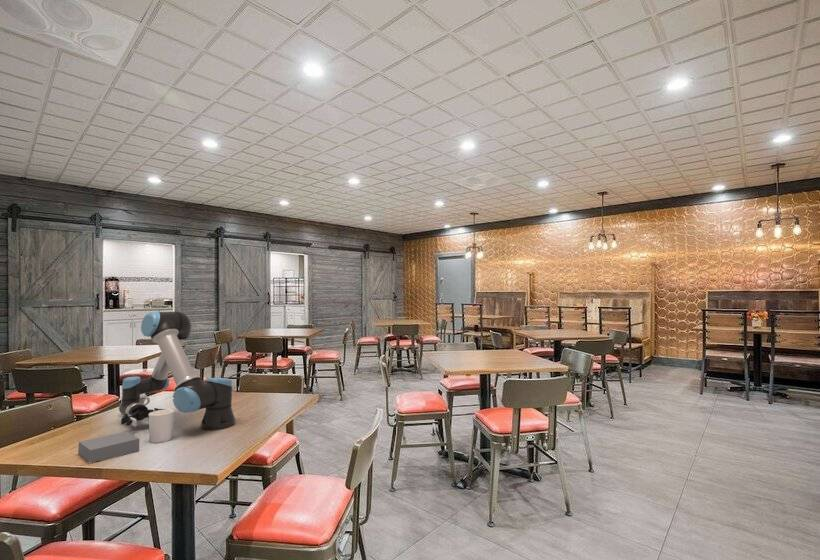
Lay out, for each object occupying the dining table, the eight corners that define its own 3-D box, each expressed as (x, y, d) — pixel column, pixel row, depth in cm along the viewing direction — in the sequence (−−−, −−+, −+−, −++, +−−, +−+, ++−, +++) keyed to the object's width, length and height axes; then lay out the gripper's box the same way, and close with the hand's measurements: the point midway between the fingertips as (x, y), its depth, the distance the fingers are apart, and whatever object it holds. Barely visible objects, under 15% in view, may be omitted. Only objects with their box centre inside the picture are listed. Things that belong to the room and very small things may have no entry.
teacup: (141, 418, 209) (141, 399, 209) (113, 418, 209) (114, 399, 210) (156, 412, 221) (156, 393, 221) (130, 412, 221) (130, 394, 222)
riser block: (125, 443, 170) (125, 431, 170) (139, 451, 160) (139, 438, 161) (78, 454, 157) (78, 441, 158) (89, 463, 148) (90, 450, 148)
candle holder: (146, 445, 167) (146, 416, 168) (149, 438, 176) (150, 411, 177) (172, 441, 172) (173, 413, 173) (174, 434, 180) (175, 408, 181)
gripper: (164, 413, 203) (181, 421, 190) (105, 425, 184) (120, 435, 170) (165, 399, 204) (182, 405, 190) (106, 409, 184) (120, 417, 171)
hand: (153, 419), depth 180 cm, fingers open, 13 cm apart
